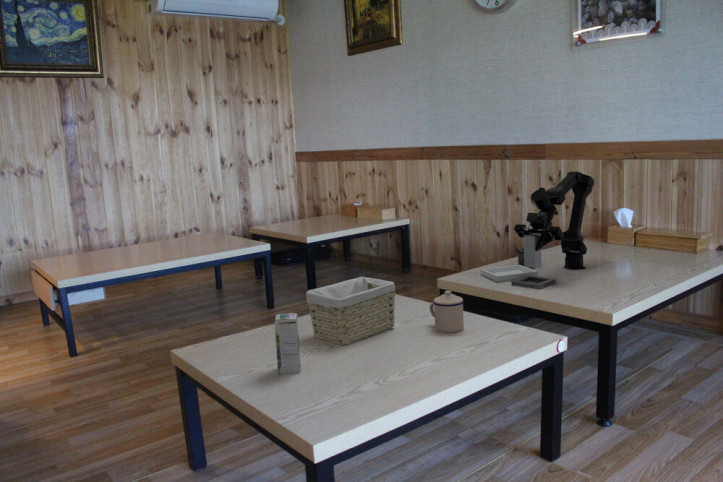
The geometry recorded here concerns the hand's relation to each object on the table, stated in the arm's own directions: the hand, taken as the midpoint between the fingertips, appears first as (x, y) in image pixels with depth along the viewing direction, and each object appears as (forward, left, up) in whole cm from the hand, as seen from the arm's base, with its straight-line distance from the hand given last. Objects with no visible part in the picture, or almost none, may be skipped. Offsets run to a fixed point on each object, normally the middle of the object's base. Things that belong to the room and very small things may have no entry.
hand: (530, 249), depth 228 cm
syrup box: (+100, +52, -14) cm, 113 cm away
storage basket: (+77, +28, -14) cm, 83 cm away
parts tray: (+1, -16, -13) cm, 21 cm away
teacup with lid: (+50, +36, -14) cm, 63 cm away
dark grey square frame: (-1, 0, -13) cm, 14 cm away
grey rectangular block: (-1, -1, -7) cm, 7 cm away
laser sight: (-16, -32, -14) cm, 38 cm away
